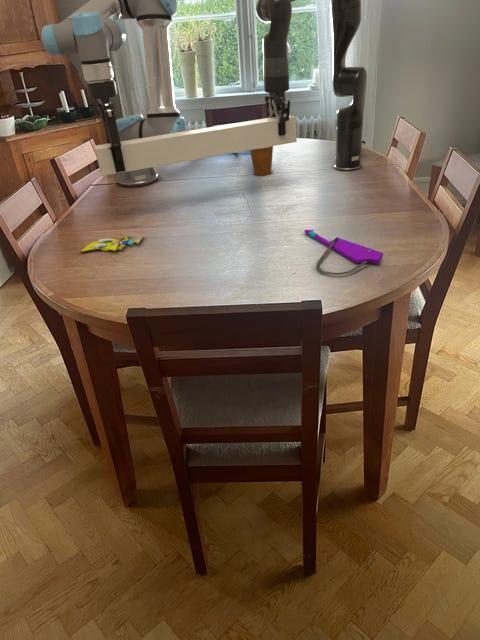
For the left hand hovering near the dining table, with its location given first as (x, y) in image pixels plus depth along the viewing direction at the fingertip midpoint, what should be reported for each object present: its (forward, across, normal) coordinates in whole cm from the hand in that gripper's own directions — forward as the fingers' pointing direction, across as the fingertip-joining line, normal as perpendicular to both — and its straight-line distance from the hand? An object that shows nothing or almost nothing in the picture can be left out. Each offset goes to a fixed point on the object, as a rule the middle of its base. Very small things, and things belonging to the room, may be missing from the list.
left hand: (119, 168), depth 140 cm
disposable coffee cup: (+17, +22, -54) cm, 61 cm away
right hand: (-2, -1, -51) cm, 51 cm away
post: (+1, 0, -25) cm, 25 cm away
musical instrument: (+16, -52, -41) cm, 68 cm away
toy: (+16, -17, +8) cm, 24 cm away
